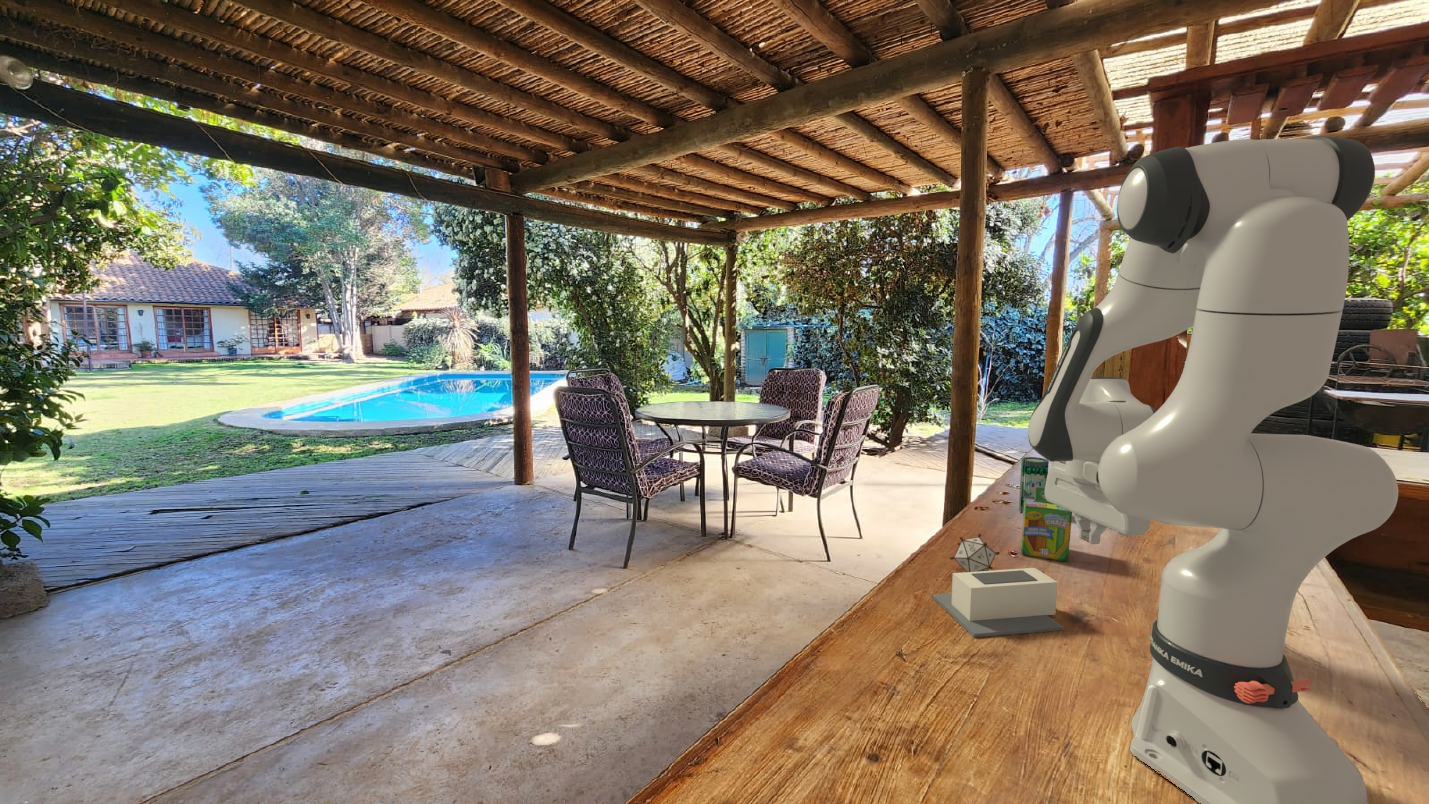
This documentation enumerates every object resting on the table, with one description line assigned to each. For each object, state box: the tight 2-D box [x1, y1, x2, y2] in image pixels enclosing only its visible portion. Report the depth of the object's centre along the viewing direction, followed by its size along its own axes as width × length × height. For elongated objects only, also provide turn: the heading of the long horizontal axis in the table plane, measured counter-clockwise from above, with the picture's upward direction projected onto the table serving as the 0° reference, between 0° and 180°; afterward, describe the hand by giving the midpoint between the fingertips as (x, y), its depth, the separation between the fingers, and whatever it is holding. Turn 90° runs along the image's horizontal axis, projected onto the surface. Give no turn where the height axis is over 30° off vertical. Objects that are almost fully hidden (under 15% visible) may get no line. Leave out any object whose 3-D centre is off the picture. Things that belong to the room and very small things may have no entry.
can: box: [1018, 456, 1050, 514], centre depth 152 cm, size 6×6×15 cm
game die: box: [948, 533, 1001, 572], centre depth 116 cm, size 9×8×10 cm
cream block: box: [951, 567, 1058, 621], centre depth 100 cm, size 6×6×16 cm
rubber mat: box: [931, 592, 1064, 638], centre depth 101 cm, size 14×16×1 cm
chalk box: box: [1020, 487, 1073, 563], centre depth 126 cm, size 9×9×15 cm
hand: (1089, 541), depth 101 cm, fingers closed
